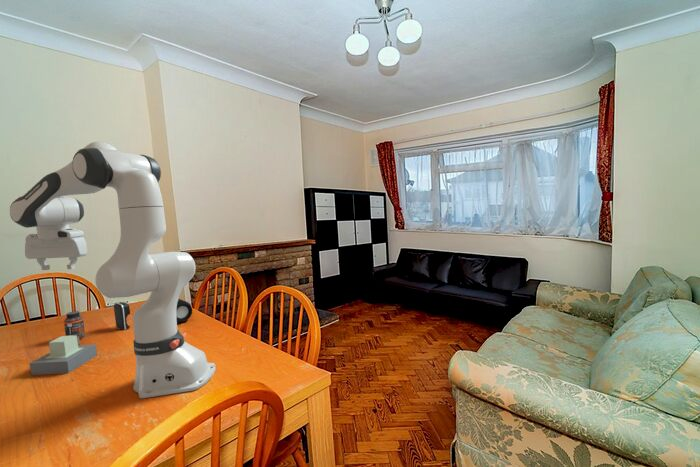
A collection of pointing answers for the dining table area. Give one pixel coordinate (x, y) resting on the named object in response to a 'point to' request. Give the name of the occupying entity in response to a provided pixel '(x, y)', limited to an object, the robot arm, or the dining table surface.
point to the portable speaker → (183, 311)
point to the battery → (121, 315)
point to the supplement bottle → (74, 325)
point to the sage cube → (63, 346)
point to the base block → (63, 361)
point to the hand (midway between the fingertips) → (58, 269)
